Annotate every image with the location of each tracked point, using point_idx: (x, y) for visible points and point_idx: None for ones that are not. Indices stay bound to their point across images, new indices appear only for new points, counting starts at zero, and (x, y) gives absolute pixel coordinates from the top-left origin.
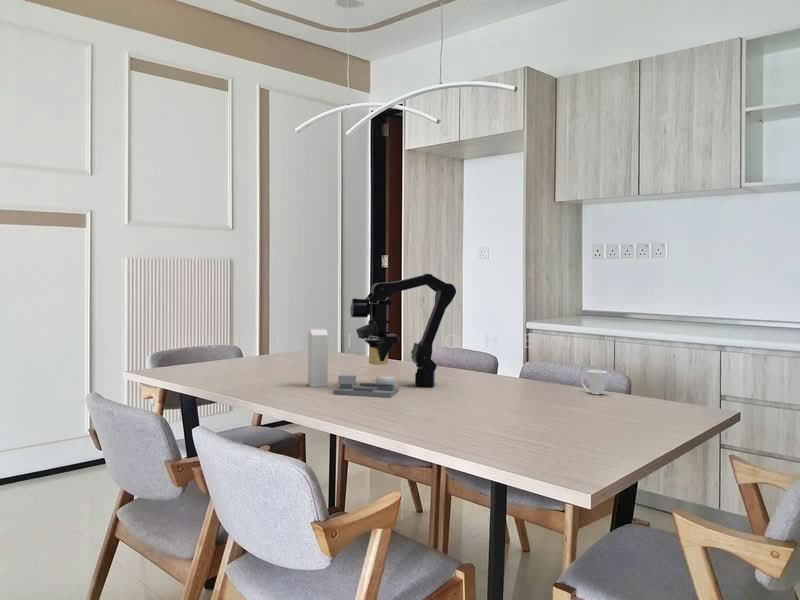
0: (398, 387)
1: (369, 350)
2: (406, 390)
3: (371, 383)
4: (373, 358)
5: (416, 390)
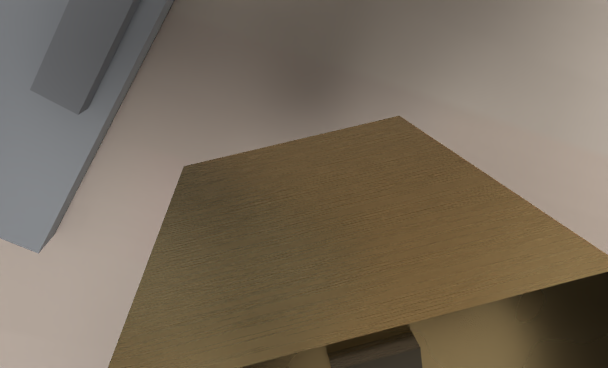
0: (28, 248)
1: (515, 210)
2: (96, 294)
3: (93, 29)
4: (266, 185)
5: (90, 349)
